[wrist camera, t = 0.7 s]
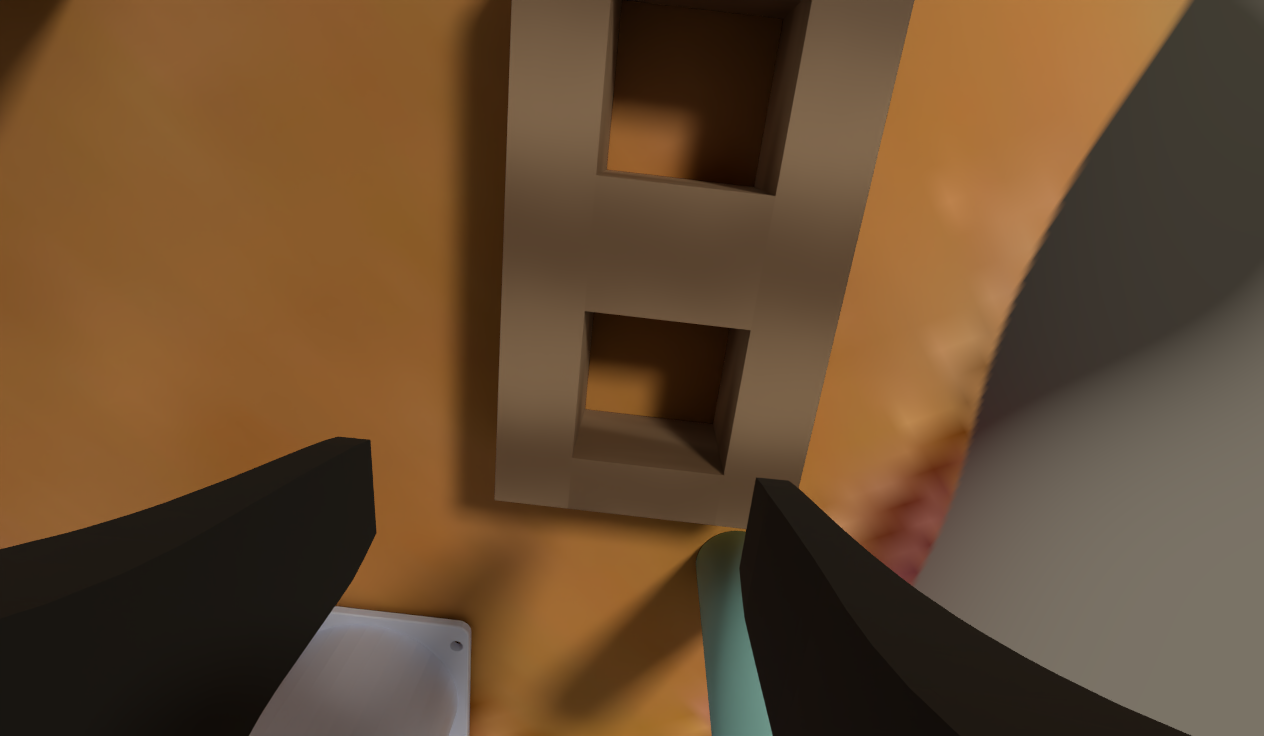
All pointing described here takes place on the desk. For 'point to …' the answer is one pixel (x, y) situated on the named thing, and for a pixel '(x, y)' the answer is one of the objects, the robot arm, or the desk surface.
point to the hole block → (679, 259)
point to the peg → (728, 641)
